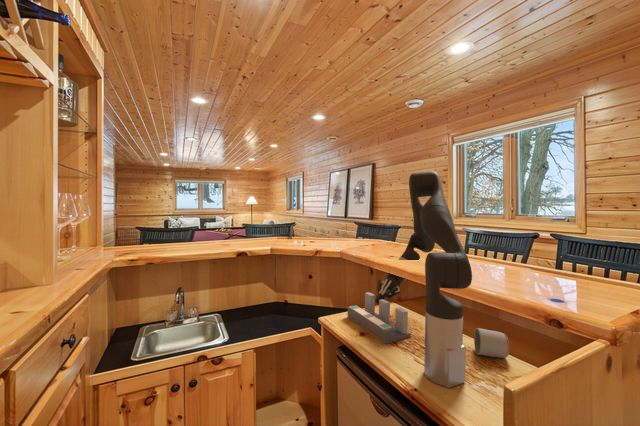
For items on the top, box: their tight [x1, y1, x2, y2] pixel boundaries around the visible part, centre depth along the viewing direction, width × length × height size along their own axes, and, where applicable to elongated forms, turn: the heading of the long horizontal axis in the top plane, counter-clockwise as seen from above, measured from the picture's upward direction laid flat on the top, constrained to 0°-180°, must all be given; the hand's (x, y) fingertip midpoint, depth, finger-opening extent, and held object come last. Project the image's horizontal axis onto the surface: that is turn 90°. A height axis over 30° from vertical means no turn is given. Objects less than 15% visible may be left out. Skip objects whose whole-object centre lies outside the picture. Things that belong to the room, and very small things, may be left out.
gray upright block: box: [378, 299, 391, 323], centre depth 111 cm, size 4×2×8 cm, turn 25°
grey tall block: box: [394, 307, 409, 334], centre depth 102 cm, size 4×2×8 cm, turn 25°
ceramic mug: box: [473, 327, 510, 359], centre depth 91 cm, size 11×8×8 cm
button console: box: [347, 304, 412, 344], centre depth 109 cm, size 24×11×5 cm, turn 25°
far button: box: [364, 291, 376, 314], centre depth 119 cm, size 4×2×8 cm, turn 25°
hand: (376, 303), depth 121 cm, fingers closed
